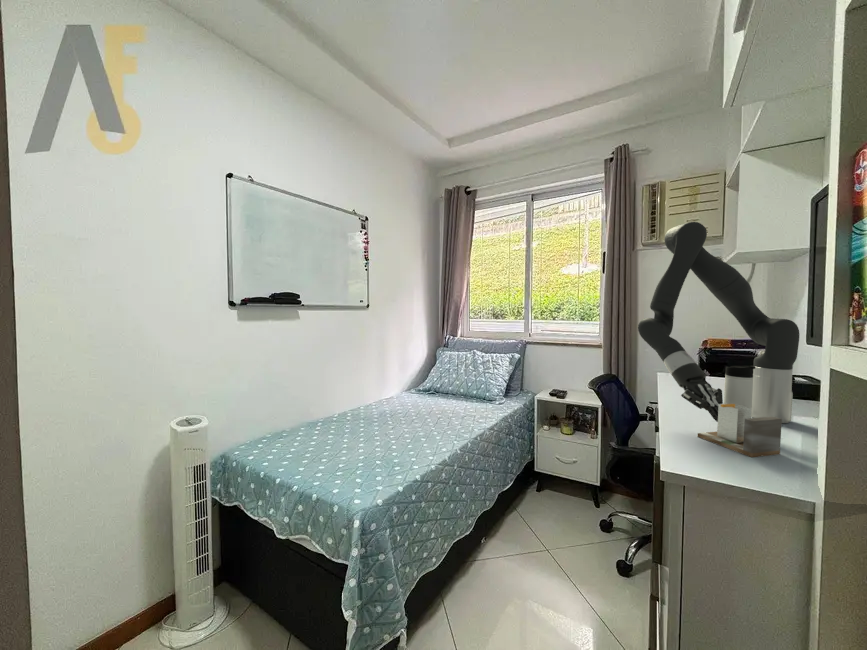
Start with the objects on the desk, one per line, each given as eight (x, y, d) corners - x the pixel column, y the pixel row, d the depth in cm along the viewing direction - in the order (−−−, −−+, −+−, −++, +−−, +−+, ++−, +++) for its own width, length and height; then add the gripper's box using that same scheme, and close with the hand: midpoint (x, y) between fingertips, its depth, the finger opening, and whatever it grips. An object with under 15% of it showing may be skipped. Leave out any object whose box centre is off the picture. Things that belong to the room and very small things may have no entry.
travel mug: (745, 437, 99) (749, 367, 98) (718, 429, 105) (721, 363, 104) (756, 433, 102) (759, 365, 101) (728, 426, 108) (731, 362, 107)
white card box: (711, 436, 96) (712, 402, 95) (729, 435, 97) (731, 400, 97) (730, 443, 91) (731, 407, 90) (749, 441, 92) (751, 405, 92)
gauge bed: (697, 436, 99) (698, 405, 99) (722, 434, 101) (724, 403, 101) (751, 457, 86) (753, 421, 85) (779, 454, 88) (781, 418, 87)
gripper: (673, 362, 104) (712, 415, 93) (709, 361, 107) (751, 412, 96) (658, 376, 110) (693, 428, 98) (693, 375, 112) (730, 425, 101)
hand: (722, 420), depth 97 cm, fingers closed
